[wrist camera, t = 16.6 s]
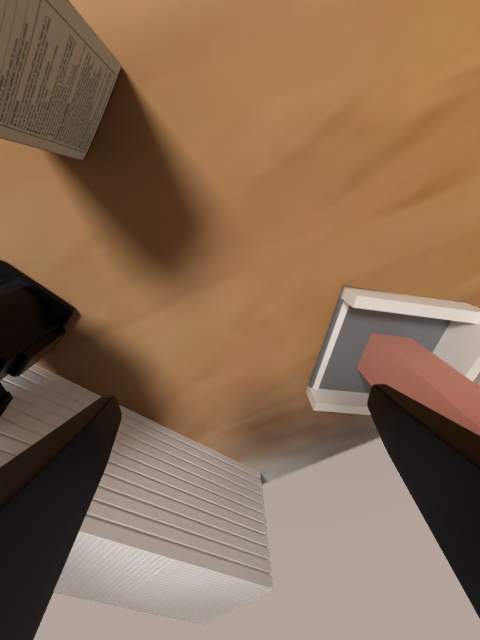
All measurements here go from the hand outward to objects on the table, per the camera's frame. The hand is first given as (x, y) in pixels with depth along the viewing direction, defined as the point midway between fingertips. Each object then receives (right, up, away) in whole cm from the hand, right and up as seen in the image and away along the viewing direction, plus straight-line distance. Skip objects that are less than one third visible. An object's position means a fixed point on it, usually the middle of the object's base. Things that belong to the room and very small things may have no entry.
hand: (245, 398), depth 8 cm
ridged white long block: (-13, -12, +20) cm, 27 cm away
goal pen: (+14, 0, +15) cm, 20 cm away
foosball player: (+14, 0, +15) cm, 20 cm away
